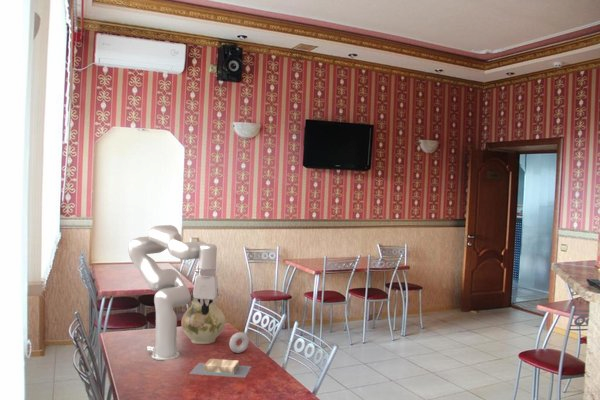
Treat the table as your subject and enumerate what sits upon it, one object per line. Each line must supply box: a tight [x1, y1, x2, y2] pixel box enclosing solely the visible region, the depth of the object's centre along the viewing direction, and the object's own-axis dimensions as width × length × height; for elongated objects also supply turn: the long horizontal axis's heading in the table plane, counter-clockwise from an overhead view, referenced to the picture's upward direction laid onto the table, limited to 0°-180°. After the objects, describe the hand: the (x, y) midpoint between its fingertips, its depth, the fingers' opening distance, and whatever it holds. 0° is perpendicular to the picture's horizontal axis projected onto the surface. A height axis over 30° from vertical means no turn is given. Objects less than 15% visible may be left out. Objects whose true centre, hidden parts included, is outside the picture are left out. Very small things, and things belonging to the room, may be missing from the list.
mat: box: [189, 362, 253, 379], centre depth 222 cm, size 24×14×1 cm, turn 84°
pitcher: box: [180, 291, 226, 345], centre depth 266 cm, size 22×24×25 cm
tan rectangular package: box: [204, 358, 240, 375], centre depth 222 cm, size 3×9×13 cm
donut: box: [228, 331, 250, 354], centre depth 248 cm, size 10×4×10 cm, turn 121°
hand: (204, 314), depth 225 cm, fingers closed
